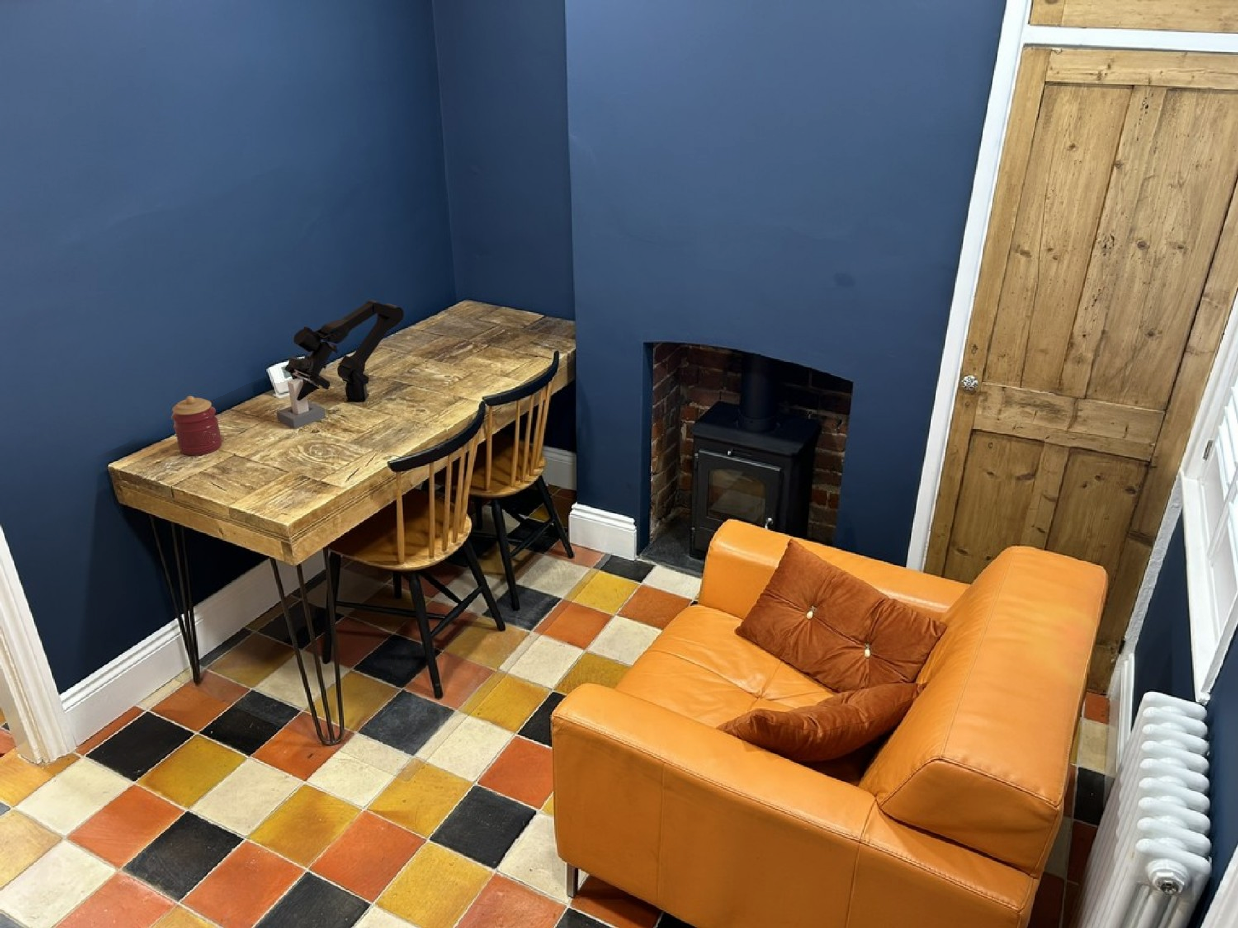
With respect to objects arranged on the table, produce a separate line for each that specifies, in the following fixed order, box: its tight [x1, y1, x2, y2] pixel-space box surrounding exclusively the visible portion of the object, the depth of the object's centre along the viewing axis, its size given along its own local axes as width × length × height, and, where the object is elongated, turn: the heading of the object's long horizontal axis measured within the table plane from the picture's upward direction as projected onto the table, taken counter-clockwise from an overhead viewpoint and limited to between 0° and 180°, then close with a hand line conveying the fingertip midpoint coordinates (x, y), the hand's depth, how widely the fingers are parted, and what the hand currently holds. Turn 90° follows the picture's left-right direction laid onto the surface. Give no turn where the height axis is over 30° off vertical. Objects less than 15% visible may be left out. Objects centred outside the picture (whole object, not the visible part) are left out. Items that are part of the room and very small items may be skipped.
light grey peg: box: [286, 378, 309, 415], centre depth 315 cm, size 4×4×12 cm
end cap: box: [276, 400, 327, 430], centre depth 317 cm, size 12×10×4 cm
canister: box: [170, 395, 223, 456], centre depth 296 cm, size 13×13×18 cm
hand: (294, 398), depth 314 cm, fingers closed on light grey peg, 3 cm apart
